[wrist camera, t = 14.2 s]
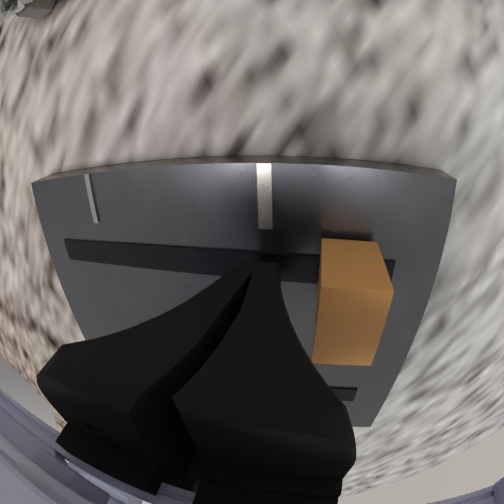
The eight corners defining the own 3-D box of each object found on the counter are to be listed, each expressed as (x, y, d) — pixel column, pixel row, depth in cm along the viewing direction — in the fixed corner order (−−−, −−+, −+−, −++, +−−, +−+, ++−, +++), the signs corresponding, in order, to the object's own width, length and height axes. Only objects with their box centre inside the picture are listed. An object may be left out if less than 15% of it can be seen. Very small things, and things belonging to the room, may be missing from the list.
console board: (369, 407, 17) (370, 427, 15) (116, 366, 21) (107, 380, 20) (440, 169, 10) (458, 180, 8) (50, 174, 14) (30, 183, 12)
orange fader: (363, 309, 11) (371, 365, 8) (315, 306, 11) (311, 362, 9) (376, 241, 10) (394, 291, 7) (321, 238, 10) (321, 286, 7)
